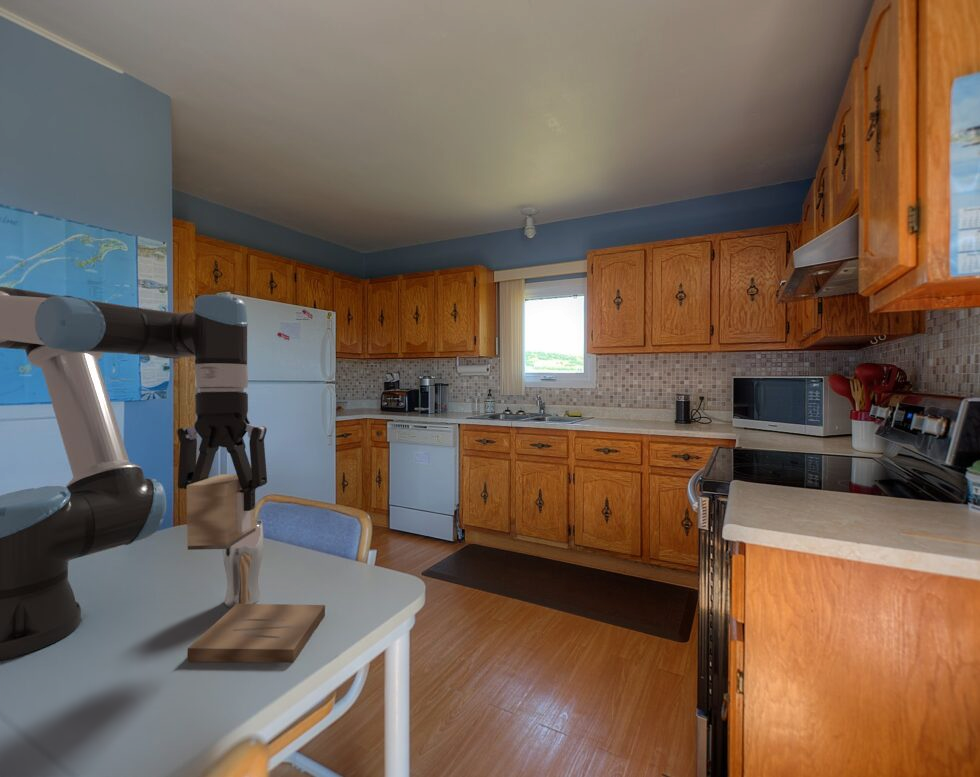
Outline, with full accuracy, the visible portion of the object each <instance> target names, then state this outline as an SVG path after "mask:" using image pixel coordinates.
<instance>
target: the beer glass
mask: <svg viewBox="0 0 980 777" xmlns="http://www.w3.org/2000/svg"><path fill="white" fill-rule="evenodd" d="M255 526H256V531H255V532H253V533H251V534H250V535H248V536H247V537H245V538H243V539H242V540H240V541H238V542H237V543H235V544H234V545H232V546H230V547H229V548H227V549H222V559H223V566H224V570H225V577H226V585H227V586H226V593H225V597H224V605H225V606H226V607H227V608H230V609H232V608H233V607H234V606H235V605H236V604H256V603H257V602H258V601H259V600H260V598H261V595H260V594H261V592H260V587H259V575H260V574H259V573H260V570H261V564H262V559H263V552H264V527H263V526H264V525H263V520H262V519H260V518H259V519H258V518H255Z"/></svg>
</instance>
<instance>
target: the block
mask: <svg viewBox="0 0 980 777" xmlns="http://www.w3.org/2000/svg"><path fill="white" fill-rule="evenodd" d="M239 490H242V489H241V486H240V483H239V480H238V477H237V474H236V473H228V474H227V473H226V474H225V473H224V474H223V473H222V474H221V473H219V474H218V475H217V474H216V475H214V476H211V477H208V479H205V480H202V481H199V482H196V483H192V484H189V485H187V489H186V527H187V529H186V530H187V531H186V532H187V550H188V551H191V550H192V551H193V550H196V551H197V550H223V549H227V548H229V547H230V546H232V545H234V544H235V543H237V542H238V541H240V540H242V539H243V538H245V537H247V536H248V535H250V534H251V533H253V532H255V531H256V526H255V519H256V507H255V508H254V509H252V510H250V512H251V528H249V529H248V530H246V531H244V532H242V533H237V492H240V491H239Z"/></svg>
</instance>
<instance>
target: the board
mask: <svg viewBox="0 0 980 777" xmlns="http://www.w3.org/2000/svg"><path fill="white" fill-rule="evenodd" d="M325 617H326V604H286V603H285V604H281V603H280V604H279V603H277V604H276V603H273V604H272V603H271V604H270V603H267V604H266V603H254V604H236V605H235V606H234V607H233V608H230V609H229V610H228V611H227V612H226V613H224V614H223V615H222V617H221V618H219V619H218V620H217V621H216V622H215V623H214V624H213V625H211V627H209V628H208V629H207V630H206V631H205V632H204V633H203V634H202V635H201V636H199V637H198V638H197V639H196V640H195V641H194V642H193V643H192V644H190V645H189V646H188V647H187V653H186V654H187V655H186V656H187V659H186V660H187V662H206V663H207V662H214V663H215V662H216V663H217V662H218V663H219V662H220V663H222V662H224V663H228V662H230V663H293V664H294V662H295V661H296V660H297V658H298V656H299V655H300V653H301V652H302V651H303V649H304V648H305V646H306V645H307V643H308V642H309V640H310V639H311V638H312V635H313V634H314V633H315V631H316V630H317V629H318V627H319V626H320V624H321V623H322V621H323V620H324V618H325Z"/></svg>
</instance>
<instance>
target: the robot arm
mask: <svg viewBox="0 0 980 777" xmlns="http://www.w3.org/2000/svg"><path fill="white" fill-rule="evenodd" d="M193 305H194V306H193V308H192V311H191V312H179V313H178V312H170V311H163V310H157V309H150V308H142V307H137V306H130V305H129V306H128V305H121V304H116V303H109V302H104V301H97V300H91V299H86V298H83V297H82V298H81V297H76V296H73V295H58V294H51V293H45V292H38V291H33V290H26V289H19V288H12V287H7V286H0V348H1V349H14V350H24V352H25V354H26V356H27V357H26V358H27V360H28V362H29V364H31V365H32V366H35V367H38V368H40V369H41V370H42V374H43V377H44V380H45V386H46V389H47V391H48V394H49V398H50V402H51V406H52V408H53V411H54V416H55V419H56V422H57V425H58V430H59V432H60V436H61V439H62V444H63V446H64V450H65V452H66V453H65V454H66V455H67V460H68V463H69V467H70V470H71V473H72V478H71V480H70V481H69V482H68V483H67V484H66V485H65V486H61V485H46V486H40V487H37V488H34V487H32V488H27V489H21V490H16V491H12V492H8V493H5V494H1V495H0V661H3V660H7V659H11V658H15V657H19V656H23V655H25V654H29V653H31V652H34V651H35V652H36V651H37V650H40V649H42V648H45V647H47V646H49V645H52V644H53V643H56V642H58V641H60V640H62V639H64V638H66V637H68V636H69V635H70V634H71V633H73V632H74V631H75V630H76V629H77V628H79V626H80V625H81V622H82V608H81V605H80V603H79V602H78V601H76V597H75V594H74V591H73V588H72V586H71V584H70V582H69V561H72V560H74V559H78V558H82V557H85V556H89V555H93V554H96V553H99V552H103V551H106V550H110V549H114V548H117V547H121V546H125V545H126V546H128V545H132V544H133V543H135V542H138V541H141V540H143V539H147V538H148V537H151V536H153V535H154V534H155V533H156V532H157V531H158V529H160V527H161V526H162V523H163V521H164V517H165V515H166V513H167V512H166V511H167V495H166V490H165V488H164V486H163V484H162V483H161V482H159V480H157V479H156V478H151V477H146V478H145V474H144V471H143V468H142V466H140V465H137V464H134V463H133V462H130V459H129V455H128V453H127V449H126V446H125V444H124V440H123V437H122V434H121V431H120V428H119V424H118V421H117V418H116V414H115V411H114V409H113V405H112V403H111V400H110V396H109V393H108V389H107V387H106V384H105V381H104V376H103V373H102V370H101V368H100V365H99V359H100V360H101V358H102V357H103V355H104V353H106V354H128V355H139V356H153V357H154V356H155V357H157V358H162V359H163V358H164V359H174V360H177V359H182V358H190V357H191V358H193V357H194V364H195V365H194V375H195V376H194V378H195V379H194V380H195V385H194V387H195V388H196V389H198V390H199V392H196V394H194V395H195V396H194V398H195V399H194V401H195V402H194V403H195V404H194V405H195V408H194V410H195V414H196V417H197V418H196V420H195V423H194V425H192V426H188V427H181V428H178V429H177V430H176V434H177V437H178V440H179V455H178V456H179V457H178V459H179V460H178V463H179V464H178V473H177V474H178V477H177V478H178V479H177V487H178V489H182V490H183V489H184V490H187V485H189V484H192V483H196V482H199V481H202V480H205V479H208V478H210V477H209V476H210V473H211V470H212V466H213V463H214V459H215V456H216V453H217V452H218V451H219V450H220V447H222V448H226V451H227V453H228V454H230V458H231V460H232V461H231V462H232V464H233V468H234V470H235V474H237V477H238V480H239V483H240V486H241V489H242V490H239V491H240V492H237V533H242V532H244V531H246V530H248V529H249V528H251V512H250V510H252V509H254V508H255V509H256V490H257V489H258V488H260V487H262V486H264V485H266V484H267V483H268V474H267V463H266V452H265V451H266V449H265V437H266V434H267V427H266V426H263V425H262V426H258V425H255V424H251V422H250V420H249V419H248V418H249V417H248V412H249V394H248V393H247V391H245V390H244V389H247V388H248V387H249V384H248V383H249V382H248V380H249V379H248V376H249V375H248V326H249V322H248V317H247V316H248V314H247V305H246V303H245V302H244V301H243V300H242V299H240V298H238V297H234V296H229V295H221V294H203V295H202V294H201V295H198V296H196V298H195V299H194V304H193ZM246 434H247V437H248V438H249V444H248V446H249V454H250V455H249V456H250V461H249V457H248V454H247V451H246V449H247V448H246V443H245V440H244V437H245V435H246ZM197 437H200V438H201V440H200V441H201V442H200V444H199V446H198V440H197ZM198 447H199V448H198ZM197 449H198V452H199V454H198V457H197Z"/></svg>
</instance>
